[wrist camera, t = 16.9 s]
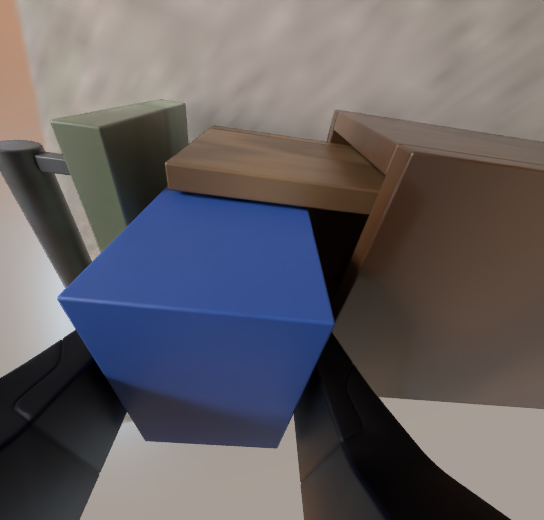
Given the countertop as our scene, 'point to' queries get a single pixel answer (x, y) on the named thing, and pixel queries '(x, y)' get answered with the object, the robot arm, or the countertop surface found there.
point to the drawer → (183, 179)
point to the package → (207, 317)
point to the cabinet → (446, 265)
